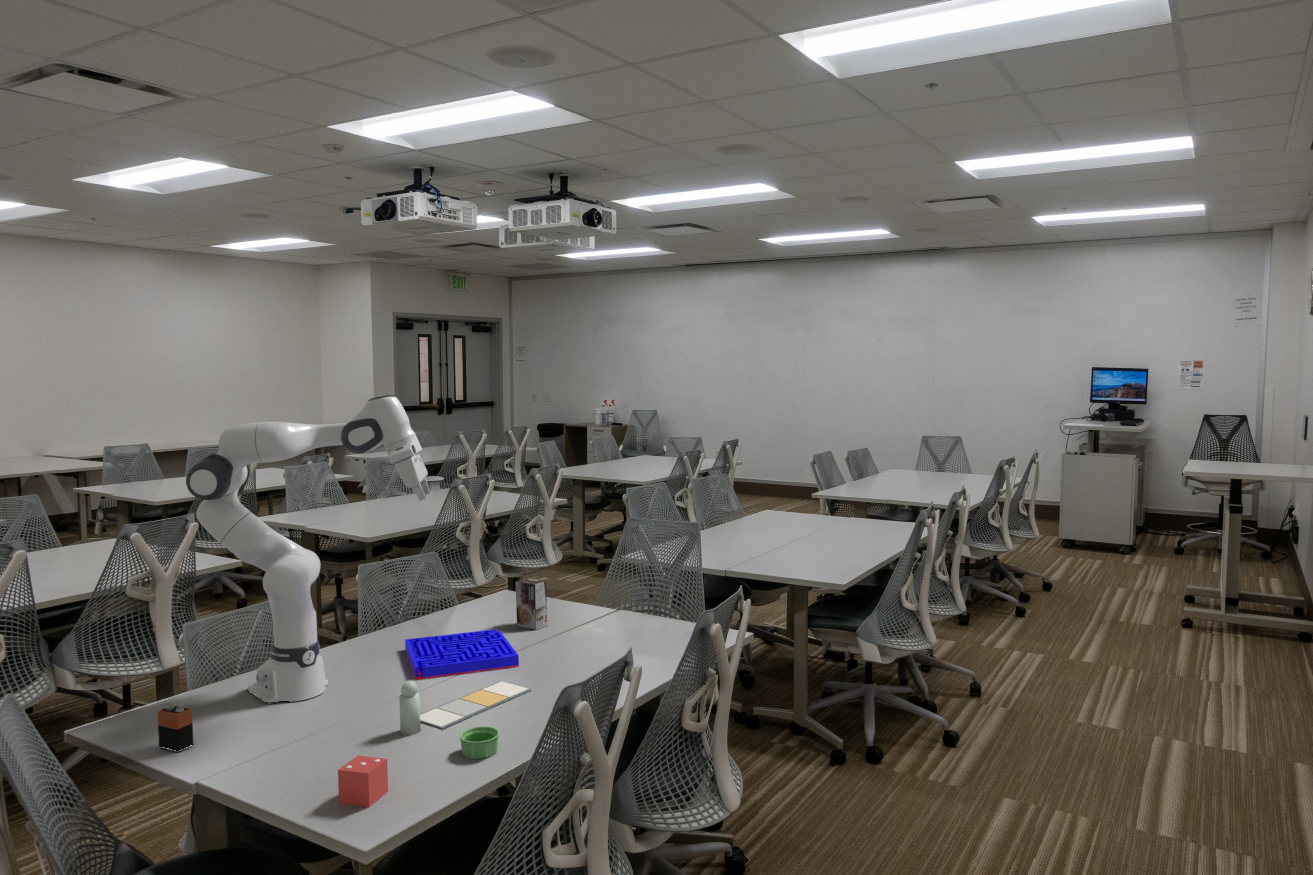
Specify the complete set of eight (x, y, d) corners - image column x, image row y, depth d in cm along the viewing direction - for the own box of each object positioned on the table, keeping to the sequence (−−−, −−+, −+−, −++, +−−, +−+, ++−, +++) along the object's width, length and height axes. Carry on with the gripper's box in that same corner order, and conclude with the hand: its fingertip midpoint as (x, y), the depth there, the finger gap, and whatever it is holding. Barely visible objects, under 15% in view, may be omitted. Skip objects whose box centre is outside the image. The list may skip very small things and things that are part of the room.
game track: (410, 718, 223) (410, 717, 223) (500, 682, 249) (500, 680, 249) (442, 729, 216) (442, 727, 216) (531, 690, 242) (531, 688, 242)
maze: (518, 668, 263) (518, 655, 262) (416, 681, 252) (415, 668, 251) (498, 640, 291) (498, 628, 290) (405, 651, 280) (405, 639, 279)
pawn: (396, 732, 215) (394, 682, 214) (411, 725, 219) (410, 676, 218) (409, 736, 212) (407, 686, 211) (424, 729, 216) (423, 680, 215)
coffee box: (548, 625, 305) (547, 580, 304) (536, 630, 300) (535, 584, 299) (527, 621, 310) (527, 577, 309) (515, 626, 305) (514, 580, 304)
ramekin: (452, 752, 203) (452, 733, 203) (485, 740, 209) (485, 722, 209) (473, 764, 197) (473, 745, 196) (507, 751, 203) (506, 733, 203)
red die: (339, 802, 179) (337, 768, 178) (358, 787, 186) (357, 754, 185) (369, 806, 177) (368, 772, 177) (388, 790, 184) (387, 757, 183)
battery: (174, 741, 210) (172, 700, 210) (194, 745, 207) (192, 704, 207) (158, 748, 206) (156, 707, 206) (178, 753, 203) (176, 711, 203)
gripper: (399, 451, 247) (419, 495, 249) (387, 459, 227) (409, 507, 229) (420, 442, 248) (440, 486, 250) (410, 449, 228) (432, 497, 229)
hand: (425, 496), depth 239 cm, fingers open, 8 cm apart
